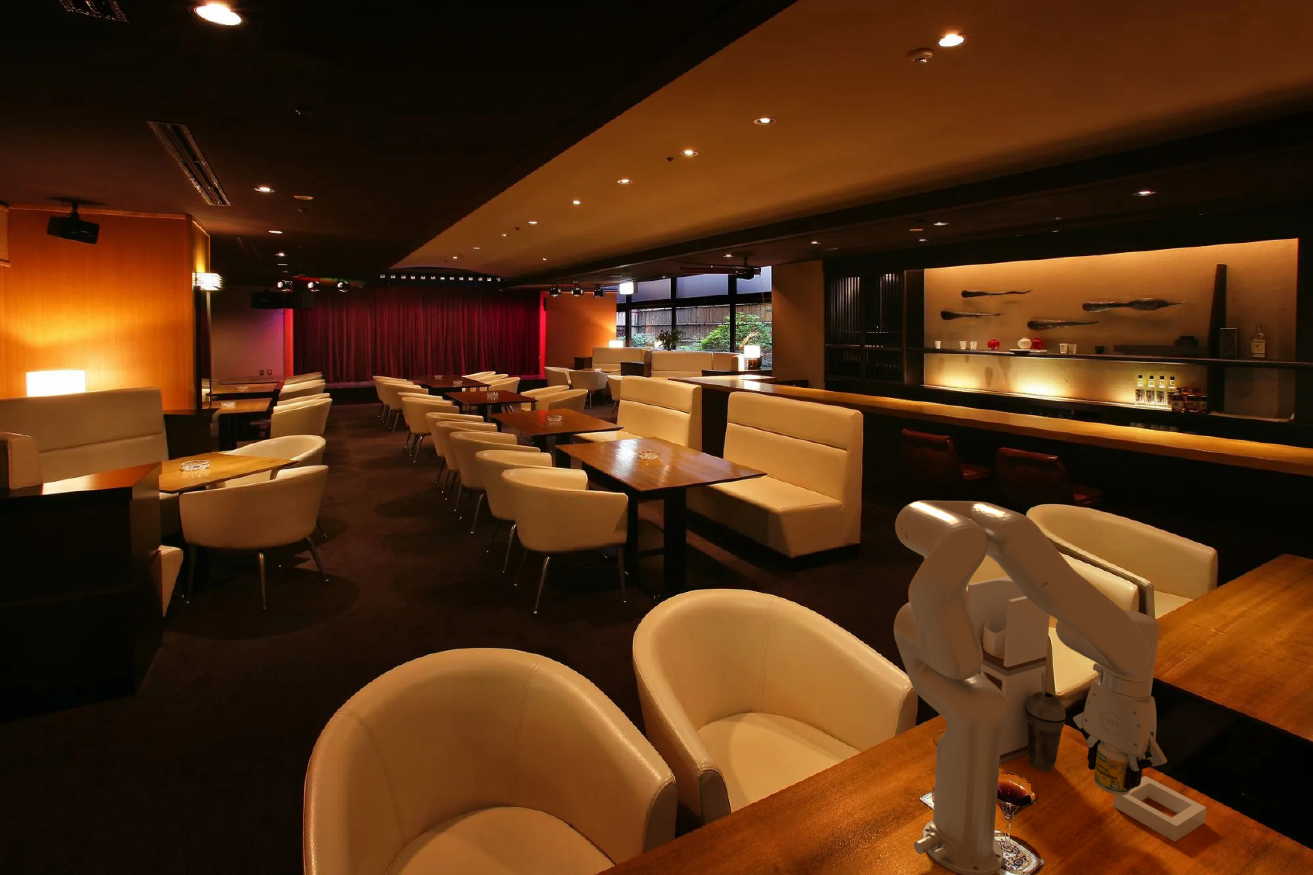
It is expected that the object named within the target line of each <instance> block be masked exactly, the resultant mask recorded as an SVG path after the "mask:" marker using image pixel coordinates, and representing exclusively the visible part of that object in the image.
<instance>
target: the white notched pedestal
mask: <svg viewBox="0 0 1313 875" xmlns="http://www.w3.org/2000/svg"><path fill="white" fill-rule="evenodd" d="M966 599H967V603H968V607H969V610H970V613H971V616H972V619H973V622H974V625H975V628H976V631H977V634H978V637H979V640H980V643H981V647H982V653H983V662H982V666H981V669H980V674H981V675H983V676H984V677H985V678H987V679H988V680H990V681H991V682H992V683H993V684H994V685H996V686H997V687H998V688H999V689H1000V690H1001V692H1002V693H1003V694H1004V696H1005V697H1006V699H1007V701H1008V704H1009V707H1010V718H1009V723H1008V726H1007V729H1006V732H1005V735H1004V738H1003V742H1002V746H1001V752H1000V761H999V765H1002V764H1004V763H1008V762H1010V761H1013V760H1016V759H1018V758H1021V757H1025V756H1028V723H1027V717H1026V710H1025V706H1026V704H1027V701H1028V699H1029V698H1030V697H1031V696H1032V695H1033V694H1035V693H1037V692H1042V679H1041V673H1044V683H1045V679H1046V667H1047V656H1048V655H1047V654H1048V642H1049V633H1050V632H1049V631H1050V629H1049V628H1050V618H1051V615H1049V614H1048V613H1046V612H1045V611H1043V610H1042V609H1041V608H1039V607H1038V606H1037V605H1035V604H1034V603H1033V602H1031V601H1030V600H1029V599H1028V598H1027V597H1026V596H1025V595H1024V593H1023V592H1022V591H1021V590H1020V589H1019V588H1018V586H1017V585H1016V584H1015V583H1014V582H1013V581H1012V579H1011V578H1010V577H1009V576H1008V575H1007V576H1001V577H996V578H991V579H986V580H982V581H981V580H979V581H976V582H969V583H968V586H967V593H966Z"/></svg>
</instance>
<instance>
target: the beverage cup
mask: <svg viewBox="0 0 1313 875" xmlns="http://www.w3.org/2000/svg"><path fill="white" fill-rule="evenodd" d="M1041 679H1042V692H1037V693H1035V694H1033V695H1032V696H1031V697H1030V698H1029V699H1028V701H1027V704H1026V706H1025V710H1026V717H1027V723H1028V755H1027V756H1028V764H1029V765H1030V766H1031V767H1032V768H1033V769H1035V770H1037V771H1040V772H1043V773H1050V772H1054V769H1055V765H1056V763H1057V762H1056V761H1057V759H1058V758H1057V756H1058V751H1059V747H1060V741H1061V736H1062V732H1063V728H1064V726H1065V724H1066V720H1067V715H1066V708H1065V706H1064V704H1063V702H1062V701H1061V700H1060V699H1059V697H1057V696H1056V695H1055V694H1053V693H1051V692H1048V691H1046V687H1045V686H1046V685H1045V682H1044V673H1041Z"/></svg>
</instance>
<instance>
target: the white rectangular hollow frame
mask: <svg viewBox="0 0 1313 875" xmlns="http://www.w3.org/2000/svg"><path fill="white" fill-rule="evenodd" d="M1147 798H1149V799H1151V800H1152V801H1154V802H1156V803H1158V804H1160V805H1162V806H1164V807H1165V808H1167V809H1168V810H1171V811H1172V812H1174V813H1176V815H1174V816H1172V817H1171V816H1169V815H1167V814H1165V813H1164V812H1161V811H1160V810H1158V809H1156V808H1155V807H1152V806H1150V805H1149V804H1147V803H1145V802H1144V800H1145V799H1147ZM1113 807H1114V808H1115V809H1117V810H1118V809H1119V811H1120V812H1122V813H1123V814H1126V815H1127V816H1128V817H1131V818H1132V819H1135V820H1136V821H1138V822H1139V823H1141V824H1143V825H1145V826H1146V827H1148V828H1150V829H1151V830H1153V831H1155V832H1157V833H1158V834H1160V835H1162V836H1164V837H1166V838H1167V839H1169V840H1171V841H1172V842H1174V843H1175V842H1177V841H1179V840H1180V839H1181V838H1184V837H1185V836H1186V835H1188V834H1189V833H1191V832H1193V831H1194V830H1196V829H1197V828H1198V827H1200V826H1202V825H1204V824H1205V823H1206V814H1207V807H1206V806H1204V805H1203V804H1200V803H1198V802H1197V801H1195V800H1193V799H1191V798H1189V797H1187V796H1185V795H1183V794H1181V793H1179V792H1177V791H1176V790H1173V789H1172V788H1170V787H1168V786H1166V785H1164V784H1162V783H1160V782H1158V781H1156V780H1154V779H1153V778H1150V777H1148V776H1147V775H1145V776H1142V777H1141V783H1140V785H1139V786H1138V787H1135V788H1133V789H1131V790H1130V792H1129V793H1128V794H1127V795H1123V796H1119V795H1114V800H1113Z"/></svg>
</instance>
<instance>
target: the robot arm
mask: <svg viewBox="0 0 1313 875" xmlns="http://www.w3.org/2000/svg"><path fill="white" fill-rule="evenodd" d="M895 519H896V520H895V523H894V527H895V528H894V529H895V534H896V535H897V538H898V540H899V541H900V542H901V543H902V544H903V545H904V546H905V547H906V548H908V549H909V550H911V551H913V552H915V553H917V554H918V555H921V556H923V557H925V559H924V560H923V562H922V563H921V564H920V566H919V568H918V569H917V571H916V572H915V574H914V576H913V578H912V579H911V582H910V583H909V587H908V592H907V594H908V601H909V602H906V603H905V604H904V605H902V607H900V609H899V610H898V612H897V613H896V616H895V619H894V621H893V622H894V624H893V634H894V641H895V642H896V647H897V649H898V651H899V655H900V657H901V660H902V663H903V665H904V668H905V671H906V673H907V677H908V679H909V681H910V683H911V686H912V687H913V689H914V691H915V692H916V694H917V695H918V696H919V697H920V698H921V699H922V700H923V701H924V702H926V703H927V704H928V705H929V706H930V707H931V708H932V709H933V710H934V711H936V712H937V713H938V714H939V715H940V716H941V717H942V718H943V719H944V720H945V722H946V725H947V726H946V730H945V731H944V732H943V734H942V735H941V736H940V737H939V739H938V742H937V747H936V753H935V754H936V757H935V758H936V759H935V773H934V774H935V779H934V794H933V795H934V797H933V811H932V820H930V821H928V822H927V823H926V824H925V826H924V827H923V829H922V832H921V833H922V834H921V835H922V836H921V838H920V839H918V840H916V841H914V842H913V847H914V850H915V851H916V853H917V854H919V855H923V854H925V853H928V854H929V856H931V858H932V859H933V860H934V861H936V862H937V863H938V864H939V865H941V866H942V867H944V868H946V869H947V870H950V871H951V872H954V873H956V874H960V875H994V874H996V873H998V872H999V870H1000V869H1002V866H1003V863H1004V852H1003V849H1002V846H1001V844H1000V843H999V841H998V840H997V839H996V838H995V830H996V813H997V801H998V790H999V789H998V788H999V787H998V786H999V776H1000V775H999V773H1000V772H999V770H1000V764H999V761H1000V752H1001V746H1002V742H1003V738H1004V735H1005V732H1006V729H1007V726H1008V723H1009V718H1010V707H1009V704H1008V701H1007V699H1006V697H1005V696H1004V694H1003V693H1002V692H1001V690H1000V689H999V688H998V687H997V686H996V685H994V684H993V683H992V682H991V681H990V680H988V679H987V678H985V677H984V676H983V675H981V666H982V662H983V653H982V647H981V643H980V640H979V637H978V634H977V631H976V628H975V625H974V622H973V619H972V616H971V613H970V610H969V607H968V603H967V590H968V584H970V582H971V579H972V577H973V576H974V575H975V573H976V572H977V570H978V569H979V567H980V566H981V565H982V563H983V562H984V559H985V558H986V556H988V558H991V559H992V560H993V561H995V563H997V565H998V566H999V567H1000V568H1001V569H1002V570H1003V571H1004V572H1005V574H1006V575H1007V577H1010V578H1011V579H1012V581H1013V582H1014V583H1015V584H1016V585H1017V586H1018V588H1019V589H1020V590H1021V591H1022V592H1023V593H1024V595H1025V596H1026V597H1027V598H1028V599H1029V600H1030V601H1031V602H1033V603H1034V604H1035V605H1037V606H1038V607H1039V608H1041V609H1042V610H1043V611H1045V612H1046V613H1048V614H1049V615H1050V617H1053V618H1055V619H1056V620H1057V621H1056V623H1055V633H1056V635H1057V637H1058V639H1059V641H1060V642H1061V643H1062V644H1064V645H1065V646H1066V647H1067V648H1068V649H1070V650H1073V651H1074V652H1075V653H1077V654H1079V655H1081V656H1083V657H1084V658H1085V659H1086V658H1087V659H1089V660H1091V661H1092V662H1094V663H1093V665H1092V670H1093V671H1095V672H1097V673H1098V676H1097V678H1095V679H1093V681H1092V683H1091V685H1090V688H1089V691H1088V694H1087V696H1086V697H1087V698H1086V701H1085V704H1084V708H1083V709H1084V710H1083V712H1081V713H1079V714H1076V715H1075V716H1073V718H1072V720H1073V721H1074V723H1075V724H1076V726H1077V727H1078V729H1080V732H1081V734H1082V737H1083V738H1084V739H1085V740H1086V741H1085V744H1086V746H1087V747H1088V753H1087V758H1086V759H1087V761H1088V764H1087V765H1088V766H1087V768H1088V769H1089V770H1090V771H1091V770H1092V771H1095V766H1096V758H1097V749H1098V745H1099V744H1100V743H1101V742H1105V743H1107V744H1109V745H1111V746H1113V747H1114V748H1116V749H1118V750H1120V751H1122V752H1124V753H1126V754H1128V757H1129V762H1130V767H1128V768H1127V769H1126V775H1125V783H1124V788H1125V789H1127V790H1128V791H1129V790H1131V789H1133V788H1135V787H1138V786H1139V785H1140V783H1141V778H1142V777H1143V776H1142V775H1143V770H1144V769H1148V768H1151V767H1156V766H1162V765H1164V764H1166V763H1167V762H1168V759H1167V757H1166V756H1165V755H1164V752H1163V751H1162V749H1161V748H1160V746H1159V744H1158V743H1157V741H1156V737H1157V709H1156V701H1155V697H1154V696H1152V695H1151V694H1152V689H1153V681H1154V673H1155V669H1156V668H1155V667H1156V660H1157V654H1158V645H1159V638H1160V625H1159V623H1158V621H1157V620H1156V619H1155V618H1153V617H1152V616H1149V615H1147V614H1146V613H1145V614H1144V612H1143V613H1142V612H1139V611H1136V610H1135V611H1134V610H1131V609H1122V608H1121V607H1120V606H1119V605H1118V604H1116V603H1115V602H1114V600H1112V599H1110V598H1109V597H1108V596H1107V595H1106V594H1104V593H1103V592H1102V591H1101V590H1099V589H1098V588H1097V587H1096V586H1094V584H1092V583H1091V582H1090V581H1089V580H1087V578H1085V577H1084V576H1082V575H1081V574H1080V573H1078V572H1077V571H1076V570H1075V569H1074V568H1073V567H1072V566H1071V565H1070V564H1069V563H1068V562H1069V561H1067V560H1066V559H1065V557H1063V555H1062V554H1061V553H1060V551H1059V550H1058V549H1057V548H1056V547H1055V545H1054V544H1053V543H1052V541H1050V540H1049V538H1048V537H1047V535H1046V534H1045V533H1044V532H1043V531H1042V530H1041V528H1040V527H1039V526H1038V525H1037V524H1036V523H1035V522H1034V520H1032V519H1031V518H1030V517H1028V516H1026V515H1025V514H1023V513H1020V512H1018V511H1014V510H1011V509H1008V508H1006V507H1003V506H999V505H997V504H994V503H990V502H985V501H973V500H966V501H965V500H917V501H913V502H911V503H909V504H907V505H905V506H904V507H903V508H902V509H901V510H900V512H899V513H898V514H897V517H896V518H895ZM979 672H980V673H979ZM1146 752H1149V753H1150V756H1151V757H1148V758H1146V755H1145V754H1146Z"/></svg>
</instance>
